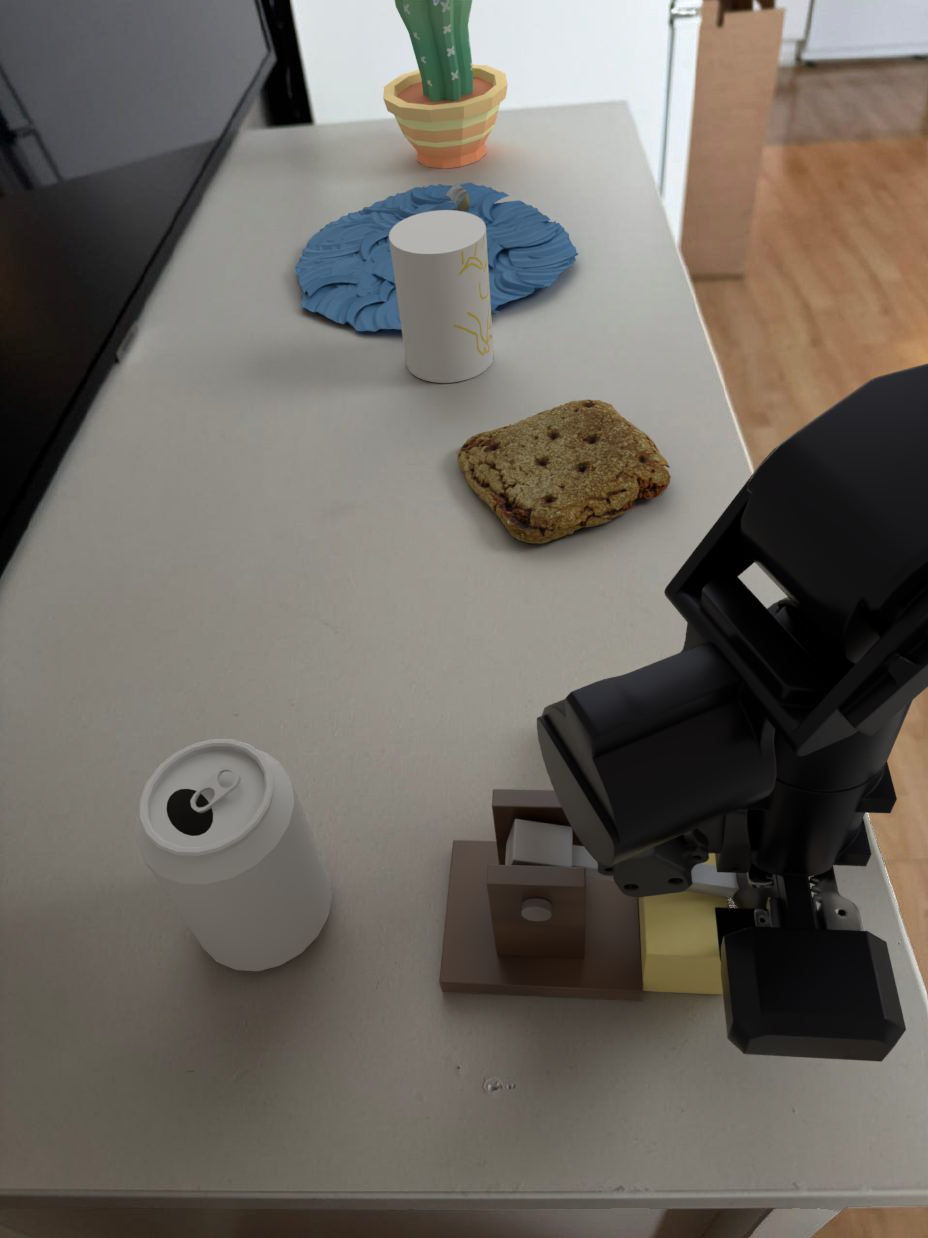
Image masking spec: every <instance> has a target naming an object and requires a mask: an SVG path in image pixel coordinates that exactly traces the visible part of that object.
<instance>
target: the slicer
mask: <svg viewBox="0 0 928 1238" xmlns="http://www.w3.org/2000/svg"><path fill="white" fill-rule="evenodd" d="M491 798H492V799H491V811H492V818H493V819H492V820H493V827H494V835H495V840H470V839H469V840H467V839H466V840H465V839H453V841H452V848H451V856H450V857H451V858H450V868H449V878H448V889H447V898H446V909H445V918H444V928H443V929H444V931H443V940H442V941H443V942H442V949H441V960H440V971H439V980H438V982H439V986H440V990H441V992H442V993H463V994H484V995H502V996H503V995H505V996H523V997H524V996H529V997H549V998H568V999H569V998H570V999H592V1000H610V1001H611V1000H612V1001H613V1000H614V1001H634V1002H640V1001H641V1002H642V1001H643V995H644V991H643V981H642V960H641V939H640V917H639V898H635V897H631V896H627V895H625V894H624V893H622V892H621V890H620V889H619V887H618V886H617V885H616V883H615V882H614V881H609V880H602V879H595V878H588V877H586V869H585V867H555V866H522V865H505V858H506V843H507V840H508V837H509V834H510V832H511V829H512V826H513V823H514V820H515V819H521V820H528V821H535V822H541V823H548V824H555V825H562V826H569V827H571V825H570V823H569V821H568V819H567V817H566V815H565V813H564V811H563V809H562V807H561V805H560V803H559V800H558V798H557V796H556V793H555V791H554V789H551V790H550V789H516V788H515V789H513V788H508V789H507V788H493V789H492V797H491ZM573 845H577V846H583V844H582V843H581V841H580V840H579V838H578V837H577V835H576V834H575V832H574V830H573Z"/></svg>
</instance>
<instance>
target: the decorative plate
mask: <svg viewBox="0 0 928 1238" xmlns="http://www.w3.org/2000/svg"><path fill="white" fill-rule="evenodd" d="M510 196H511V195H510V194H508V193H506V192H504V191H498V190H495V189H493V188H492V187H491V186H489V187H487V185H483V184H482V185H478V184H475V183H473V182H467V183H462V184H459V183H456V184H454V185H451V184H450V185H447V184H446V185H444V184H437V185H433V184H430V185H427V186H425V185H423V186H415V187H413V188H411V189H409V190H407V191H404V192H400V193H399V192H397V193H396V194H395V195H389V196H388V197H386V198H385V199H382V200H379V201H376V202H374V203H372V204H371V205H370V206H364V207H363V208H362V209H360V210H358V211H354V212H348V213H347V214H346V215H342V216H340V217H339V218H338V219H337V220H334V221H330V222H329V223H327V224H325V226H323V227H322V228H320V230H319V231H318V232H316V233H314V234H313V235H312V236H311V237H310V238H309V240H308V241H307V243H306V246H305V247H304V248H303V249H302V253H301V256H300V257H299V259H298V262H297V264H296V265H295V266H294V268H295V270H294V271H295V274H296V275H297V276H298V279H299V280H298V283H299V285H300V287H301V290H302V293H301V302H300V307H302V308H304V309H306V310H308V311H310V312H311V313H319V314H320V315H323V316H324V317H326V318H327V319H330V320H331V321H334V322H335V323H337V324H338V323H339V324H340V325H345V324H346V323H347V324H348V325H349V327H352V328H354V331H356V332H367V331H368V332H378V330H381V329H382V330H391V329H394V330H402V328H401V321H400V314H399V306H398V299H397V292H396V284H395V277H394V270H393V262H392V255H391V248H390V240H389V233H390V231H391V229H392V228H393V227H394V226H395V225H396V224H397V223H399V222H400V221H402V220H404V219H406V218H408V217H410V216H413V215H416V214H420V213H424V212H429V211H438V210H455V211H462V212H467V213H470V214H473V215H475V216H477V217H479V218H480V219H482V220H483V222H484V223H485V225H486V237H487V254H488V270H489V287H490V303H491V313H493V314H499V313H500V311H499V310H496V309H497V308H498V307H499V306H500V305H504V304H507V303H508V302H510V301H511V302H512V301H515V300H519V299H520V298H521V299H522V298H527V296H529V295H532V294H534V292H535V291H537V290H539V289H543V288H549V287H550V286H551V285H553V284H554V283H555V281H557V280H559V278H560V274H562V273H564V271H565V270H567V268H569V267H571V266H572V265H574V263H575V261H576V259H577V258H576V256H578V255H579V252H577V247H576V246H575V245H574V244H573V242H572V240H571V239H570V234H569V232H568V231H566V230H565V227H564V226H562V225H561V223H560V222H557V221H556V220H554V221H551V218H550V217H549V216H547V215H546V214H543V213H542V212H540V210H538V207H534V206H533V205H532V204H526V203H525V202H523V200H509V201H502V202H498V201H499V200H501V199H504V198H508V197H510Z"/></svg>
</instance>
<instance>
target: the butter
mask: <svg viewBox="0 0 928 1238" xmlns="http://www.w3.org/2000/svg"><path fill="white" fill-rule="evenodd" d="M702 864H709V865H716V860H715V853H709V860H708V861H706V862H704V863H702ZM728 899H729V897H722V896H715V895H708V894H701V893H694V892H687V891H684V892H678V893H670V894H663V895H655V896H647V897H639V917H640V939H641V960H642V981H643V992H655V993H656V992H657V993H679V994H680V993H682V994H698V995H699V994H701V995H702V994H703V995H720V996H721V995H722V996H723V990H722V980H721V961H720V955H719V945H718V936H717V926H716V916H715V907H725V908H730V906H729V900H728Z"/></svg>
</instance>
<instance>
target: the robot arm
mask: <svg viewBox="0 0 928 1238" xmlns="http://www.w3.org/2000/svg"><path fill="white" fill-rule="evenodd" d="M754 563H755V564H756V565H757V566H758V567H759V569H761V571H762V572H763V573H764V574H765V575H766V576H767V577H768V578H769V579H770V581H772V582H773V583H774V584H775V585H776V586H777V587H778V589H780V591H781V592H783V594H784V595H785V596H786V597H784V598H782V599H780V600H778V601H775V602H774V603H772V604H771V605H770V606H768V607H766V606H765V605H764V604H763V602H761V601H760V599H759V598H758V597H757V596H756V595H755V594H754V593H753V592H752V591H751V590H750V588H749V587H748V586H747V585H746V584H745V583H744V582H743V581H742V580H741V579H740V578H739V576H740V575H742V574H743V573H744V572H745V571H747V569H749V568H750V567H751V566H752V565H753V564H754ZM679 568H680V569H678V570H677V572H676V574H675V575H674V576H673V577H672V579H671V580H670V582H669V583H668V584H667V585H666V586H665V589H664V592H663V593H664V596H665V597H666V599H667V600H668V601H669V602H670V603H671V604H672V606H673V607H674V608H675V610H676V611H677V612H678V613H679V614H680V615H681V617H682V618H683V619H684V620H685V622H687V624H686V630H685V639H684V643H683V647H682V649H681V651H680V652H677V653H676V654H673V655H670V656H668V657H665V658H663V659H660V660H658V661H655V662H652V663H650V664H648V665H645V666H643V667H640V668H637V669H635V670H633V671H630V672H627V673H624V674H621V675H616V676H613V677H612V676H611V677H607V678H603V679H600V680H597V681H595V682H592V683H590V684H586V685H585V686H581V687H580V688H576V689H574V690H572V691H570V692H569V693H568V694H567V696H566V697H565V698H564V699H561V700H558V701H556V702H553V703H550V704H549V705H547V706H545V707H544V708H543V711H542V713H541V715H540V716H538V717H536V731H537V732H536V733H537V740H538V744H539V748H540V753H541V757H542V760H543V763H544V767H545V769H546V772H547V775H548V778H549V781H550V783H551V786H552V790H554V791H555V793H556V796H557V798H558V800H559V803H560V805H561V807H562V809H563V811H564V813H565V815H566V817H567V819H568V821H569V823H570V825H571V827H572V828H573V830H574V832H575V834H576V835H577V837H578V838H579V840H580V841H581V843H582V844H583V846H584V847H585V849H586V850H587V851H588V852H589V854H590V855H591V856H592V857H593V858H594V859H595V860H596V861H597V863H598V872H599V873H600V874H602V875H605V876H613V879H614V882H615V883H616V885H617V886H618V887H619V889H620V890H621V892H622V893H624V894H625V895H627V896H631V897H635V898H639V897H647V896H655V895H663V894H670V893H678V892H684V891H685V890H687V889H688V888H689V887H690V886H691V885H692V869H693V867H694V866H695V865H697V864H701V863H704V862H706V861H708V860H709V853H715V860H716V869H717V872H725V873H747V878H748V883H749V885H750V886H751V887H754V888H769V887H773V885H774V880H771V879H769V878H772V876H773V874H774V875H775V878H776V885H777V891H778V897H768V900H767V903H766V908H767V909H752V908H737V907H729V908H725V907H715V916H716V926H717V936H718V945H719V955H720V961H721V980H722V990H723V995H722V999H723V1008H724V1019H725V1028H726V1037H727V1040H729V1042H730V1043H731V1044H732V1045H733V1046H735V1048H737V1049H738V1050H739V1052H741V1053H742V1054H743V1055H751V1056H753V1055H754V1056H769V1057H787V1058H788V1057H789V1058H790V1057H792V1058H808V1059H824V1060H826V1059H827V1060H842V1061H843V1060H844V1061H862V1062H878V1063H879V1062H880V1063H881V1062H883V1061H884V1060H885V1059H886V1057H888V1055H889V1053H891V1051H892V1050H893V1049H894V1048H895V1047H896V1045H897V1044H898V1042H899V1041H900V1039H901V1038H902V1037H903V1035H904V1034H905V1032H906V1031H907V1028H906V1023H905V1019H904V1013H903V1009H902V1006H901V1001H900V996H899V992H898V988H897V987H898V986H897V983H896V978H895V973H894V970H893V966H892V965H893V964H892V962H891V961H892V960H891V957H890V952H889V948H888V943H887V941H886V940H884V939H882V938H880V937H879V936H877V935H875V934H874V933H872V932H870V931H869V930H865V929H864V925H863V921H862V916H861V912H860V910H859V907H858V906H857V905H856V903H855V902H853V901H852V900H851V899H849V898H847V897H844V896H843V895H841V893H840V892H839V888H838V883H837V878H836V873H835V868H834V866H839V867H841V866H842V867H843V866H844V867H867V865H868V864H869V861H870V859H871V856H872V855H873V854H872V849H871V845H870V841H869V838H868V832H867V828H866V824H865V820H864V819H865V818H864V816H865V814H891V813H892V811H893V810H894V809H893V808H894V806H895V805H896V803H897V800H898V797H897V794H896V790H895V785H894V783H893V777H892V775H891V771H890V767H889V764H888V763H889V762H888V760H889V757H890V755H891V753H892V750H893V748H894V746H895V744H896V741H897V738H898V736H899V734H900V731H901V729H902V727H903V724H904V722H905V720H906V717H907V716H908V713H909V710H910V708H911V705H912V703H913V701H914V700H915V699H916V698H917V697H918V696H920V694H922V692H924V691H925V690H927V688H928V362H927V363H924V364H920V365H916V366H912V367H908V368H904V369H902V370H897V371H893V372H890V373H886V374H882V375H879V376H875V377H874V378H871V379H869V380H868V381H866V382H865V383H863V384H862V385H860V386H859V387H857V388H856V389H855V390H853V391H852V392H850V393H849V394H847V395H846V396H845V397H843V398H841V400H839V401H837V402H836V403H835V404H833V405H832V406H830V407H829V408H827V409H826V410H824V411H823V412H822V413H820V414H819V415H818V416H816V417H814V419H812V420H811V421H809V422H808V423H806V424H805V425H804V426H802V427H801V428H799V429H798V430H796V431H795V432H794V433H792V434H791V435H789V436H788V437H787V438H786V439H785V440H784V441H782V442H781V443H779V444H778V445H777V446H776V447H775V448H773V449H772V450H771V451H770V452H769V454H768V455H766V457H765V458H764V459H763V460H762V461H761V462H760V464H759V465H758V466H757V468H756V469H755V470H754V471H753V473H752V474H751V475H750V477H749V478H748V479H747V480H746V482H745V484H744V485H743V486H742V487H741V488H740V489H739V491H738V493H737V494H736V495H735V497H734V498H733V499H732V500H731V502H730V503H729V504H728V506H727V507H726V508H725V509H724V511H722V514H721V515H720V516H719V518H718V519H716V521H715V523H714V524H713V525H712V526H711V528H710V529H709V531H708V532H707V533H706V534H705V536H704V537H703V539H701V541H700V542H699V543H698V545H697V546H696V548H695V549H694V550H693V551H692V553H691V554H690V555H689V556H688V558H687V559H686V560H685V562H684V563H683V565H681V567H679ZM811 885H812V886H811ZM813 893H814V894H813ZM817 903H819V907H818V905H817Z"/></svg>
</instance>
